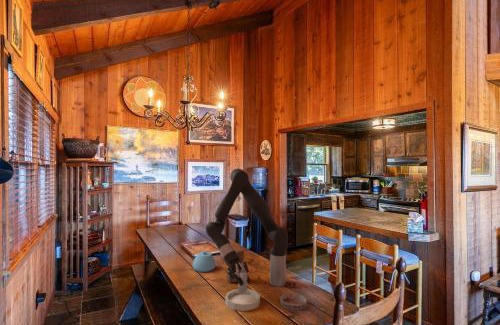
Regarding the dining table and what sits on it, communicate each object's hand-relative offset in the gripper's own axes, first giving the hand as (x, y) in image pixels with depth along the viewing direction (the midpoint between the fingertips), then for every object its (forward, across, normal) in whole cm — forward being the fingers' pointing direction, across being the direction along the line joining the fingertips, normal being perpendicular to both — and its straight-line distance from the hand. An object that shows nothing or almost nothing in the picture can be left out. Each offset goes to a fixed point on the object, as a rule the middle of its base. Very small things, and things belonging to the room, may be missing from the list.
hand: (245, 283), depth 143 cm
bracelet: (+20, +16, -6) cm, 26 cm away
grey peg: (+1, 0, +4) cm, 5 cm away
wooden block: (-9, +17, +23) cm, 30 cm away
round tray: (+6, 0, +8) cm, 10 cm away
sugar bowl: (-29, +18, +44) cm, 56 cm away
